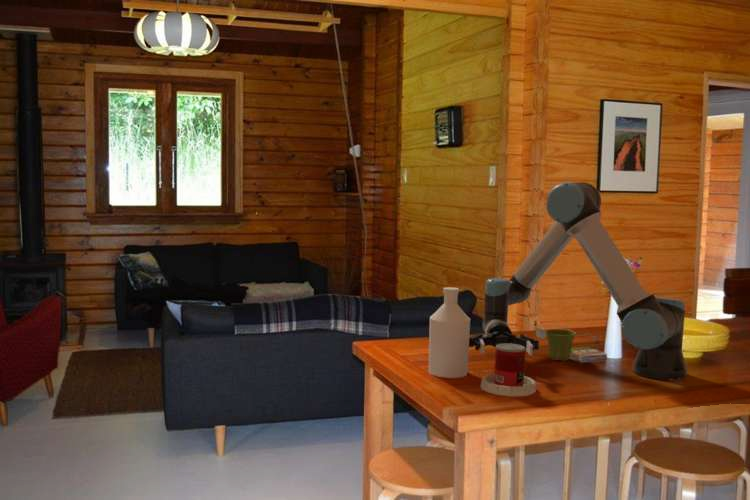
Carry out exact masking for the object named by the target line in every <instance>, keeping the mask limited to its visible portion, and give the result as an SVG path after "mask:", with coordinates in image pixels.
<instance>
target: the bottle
mask: <svg viewBox="0 0 750 500" xmlns="http://www.w3.org/2000/svg"><path fill="white" fill-rule="evenodd" d="M442 293H443V304H442V305H440V307H439V308H438V309H437V310H436V311H435V312H434V313H433V314H432V315H430V317H429V328H428V329H429V330H428V331H429V333H428V334H429V336H428V338H429V339H428V340H429V341H428V373H429V374H430V375H432V376H433V377H439V378H447V379H458V378H464V377H466V376H467V375H468V370H469V369H468V367H469V366H468V365H469V350H470V347H469V338H470V334H471V331H470V330H471V318H470V317H469V316H468V315H467V314H466V313H465V312H464V311H463V309H462V307H460V306H459V304H458V298H459V293H460V288H459V287H449V286H448V287H443V290H442Z"/></svg>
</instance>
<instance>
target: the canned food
mask: <svg viewBox="0 0 750 500" xmlns="http://www.w3.org/2000/svg"><path fill="white" fill-rule="evenodd" d="M494 353H495V354H494V355H495V357H494V374H495V377H494V382H495V384H497V385H502V386H510V387H514V386H523V384H524V376H525V364H526V363H525V359H526V349H525V347H524V346H522V345H518V344H510V343H503V344H498V345H496V347H495V352H494Z"/></svg>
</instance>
